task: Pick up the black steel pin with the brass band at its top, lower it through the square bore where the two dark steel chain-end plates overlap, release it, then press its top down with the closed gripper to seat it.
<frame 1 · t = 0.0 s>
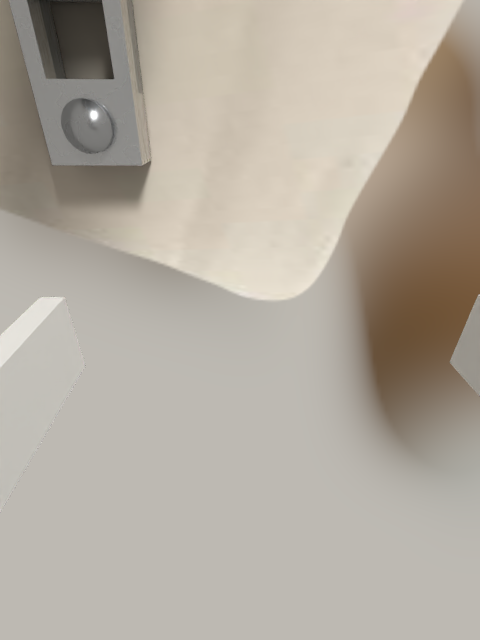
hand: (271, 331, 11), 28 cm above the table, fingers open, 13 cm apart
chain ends: (84, 13, 28), on the table
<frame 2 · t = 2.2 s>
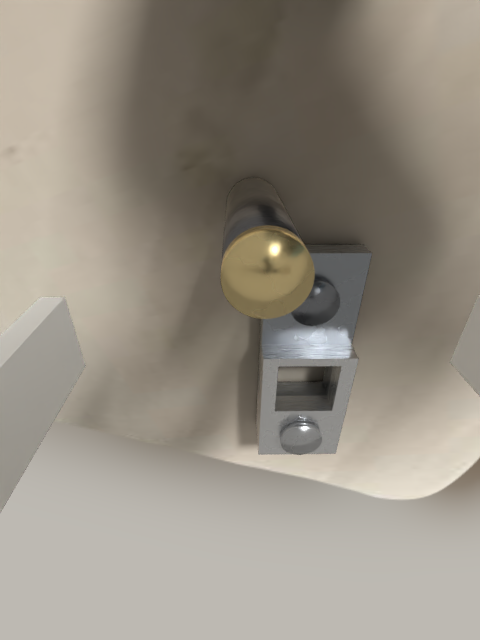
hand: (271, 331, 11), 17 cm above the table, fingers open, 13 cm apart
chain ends: (301, 345, 32), on the table
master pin: (252, 205, 25), on the table
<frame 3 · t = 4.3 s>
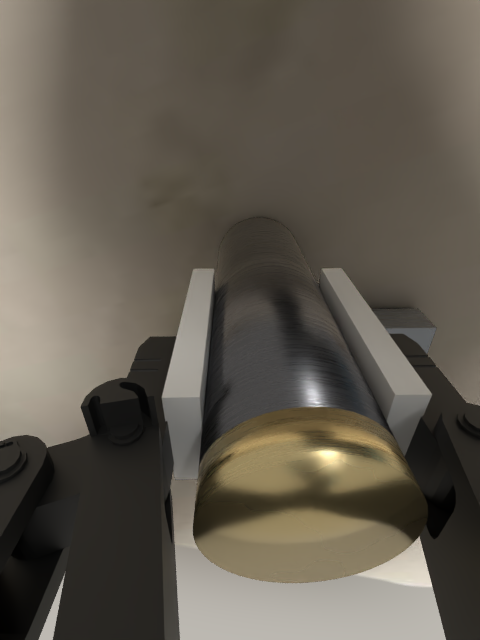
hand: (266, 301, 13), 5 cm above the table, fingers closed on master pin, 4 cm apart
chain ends: (322, 431, 24), on the table
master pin: (258, 257, 17), on the table, touching gripper
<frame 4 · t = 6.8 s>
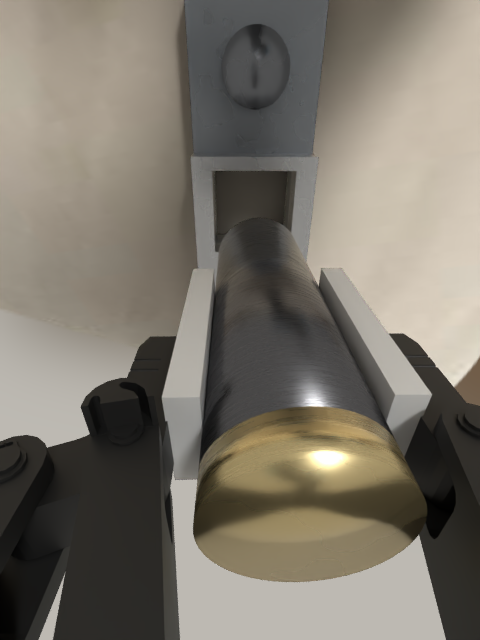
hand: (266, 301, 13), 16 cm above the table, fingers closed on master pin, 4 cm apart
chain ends: (251, 172, 25), on the table
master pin: (258, 257, 17), point 11 cm above the table, touching gripper
when the fingers open (6 cm above the table, at t = 9.3 s): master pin stays where it is, resting in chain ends.
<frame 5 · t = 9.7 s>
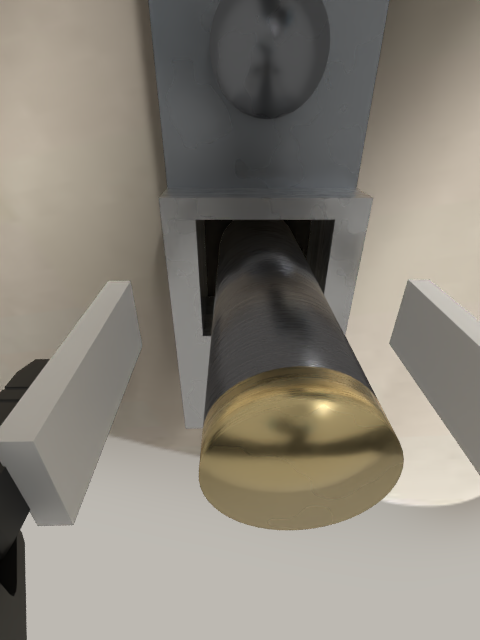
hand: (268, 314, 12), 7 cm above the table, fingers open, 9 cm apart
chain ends: (258, 212, 17), on the table
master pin: (257, 250, 18), resting in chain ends
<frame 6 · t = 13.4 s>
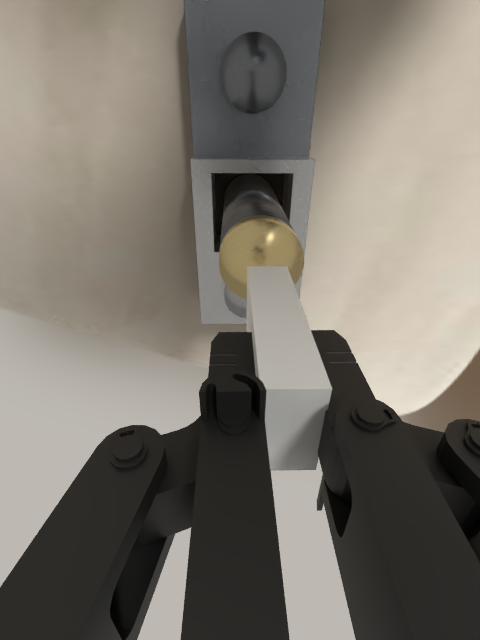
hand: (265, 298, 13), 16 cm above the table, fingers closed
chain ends: (249, 174, 26), on the table
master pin: (249, 201, 27), resting in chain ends
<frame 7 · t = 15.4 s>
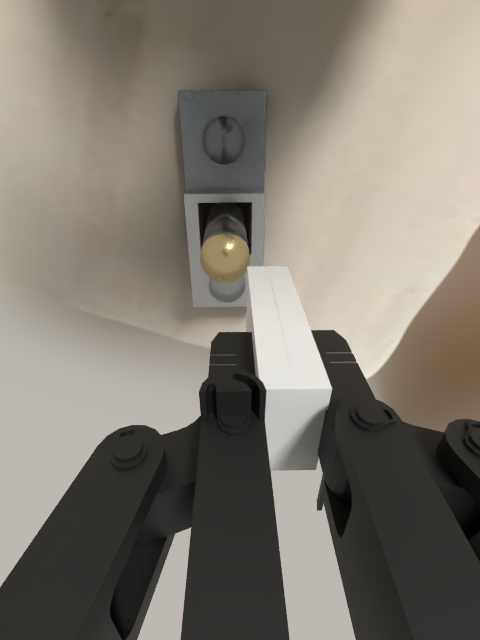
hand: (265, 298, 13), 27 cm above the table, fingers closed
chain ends: (225, 201, 37), on the table
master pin: (226, 219, 38), resting in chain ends
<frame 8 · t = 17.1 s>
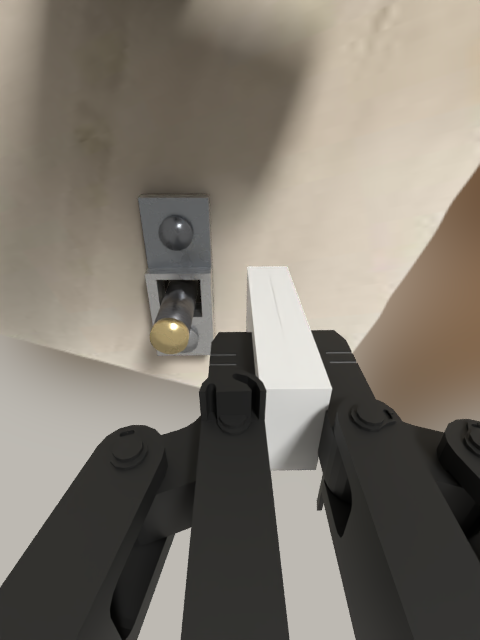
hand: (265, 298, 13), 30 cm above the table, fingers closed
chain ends: (182, 272, 45), on the table
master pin: (184, 285, 46), resting in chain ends
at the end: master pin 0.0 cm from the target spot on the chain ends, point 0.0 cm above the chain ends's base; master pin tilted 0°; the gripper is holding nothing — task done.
